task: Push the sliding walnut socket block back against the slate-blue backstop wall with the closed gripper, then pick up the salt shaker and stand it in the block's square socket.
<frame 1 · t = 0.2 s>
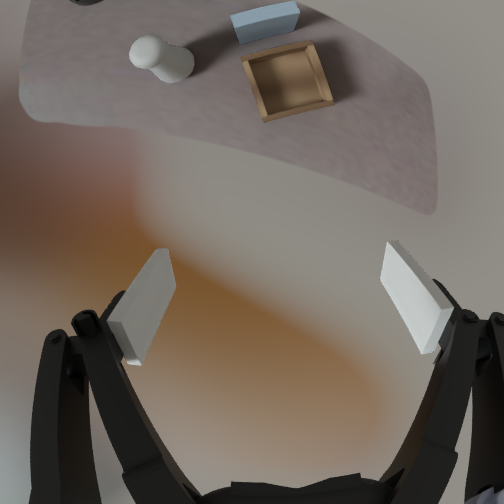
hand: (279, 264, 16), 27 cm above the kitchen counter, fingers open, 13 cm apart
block: (286, 81, 31), point 2 cm above the kitchen counter, slide at 3.0 cm
wall: (264, 31, 29), on the kitchen counter
salt shaker: (179, 67, 32), on the kitchen counter
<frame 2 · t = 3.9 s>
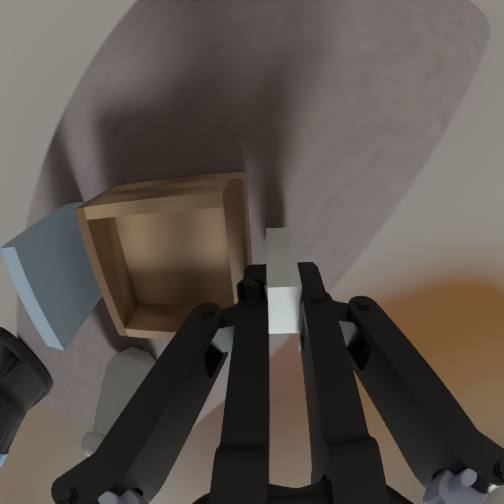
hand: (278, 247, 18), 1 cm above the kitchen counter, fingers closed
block: (174, 259, 17), point 2 cm above the kitchen counter, slide at 2.9 cm, touching gripper
wall: (86, 247, 20), on the kitchen counter
salt shaker: (140, 358, 26), on the kitchen counter
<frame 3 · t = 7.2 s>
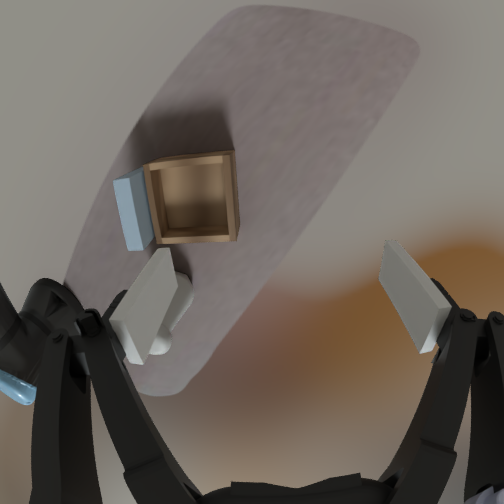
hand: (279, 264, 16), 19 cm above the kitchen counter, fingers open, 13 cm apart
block: (194, 196, 30), point 3 cm above the kitchen counter, slide at 0.0 cm
wall: (154, 194, 33), on the kitchen counter
salt shaker: (179, 282, 39), on the kitchen counter
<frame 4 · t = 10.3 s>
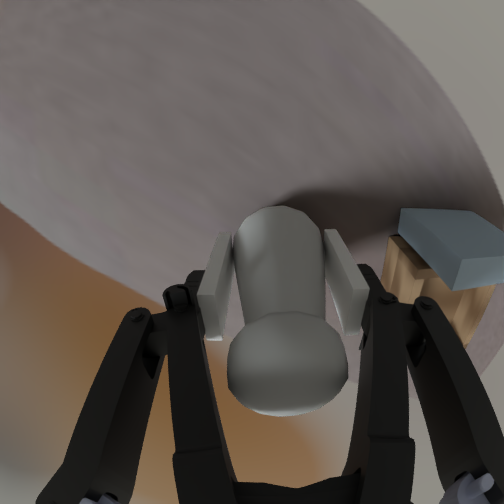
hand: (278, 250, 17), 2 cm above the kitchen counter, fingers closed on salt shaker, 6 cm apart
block: (435, 299, 19), point 2 cm above the kitchen counter, slide at 0.0 cm
wall: (438, 220, 18), on the kitchen counter
salt shaker: (276, 234, 20), on the kitchen counter, touching gripper
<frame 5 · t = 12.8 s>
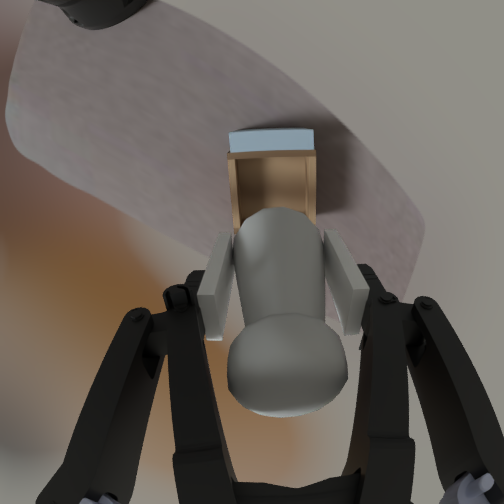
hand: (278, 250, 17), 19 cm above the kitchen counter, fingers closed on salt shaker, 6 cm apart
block: (272, 187, 32), point 2 cm above the kitchen counter, slide at 0.0 cm
wall: (269, 136, 31), on the kitchen counter
salt shaker: (276, 235, 20), point 16 cm above the kitchen counter, touching gripper
when the fingers open (6 cm above the kitchen counter, at t = 15.4 s): salt shaker drops 2 cm, resting on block.
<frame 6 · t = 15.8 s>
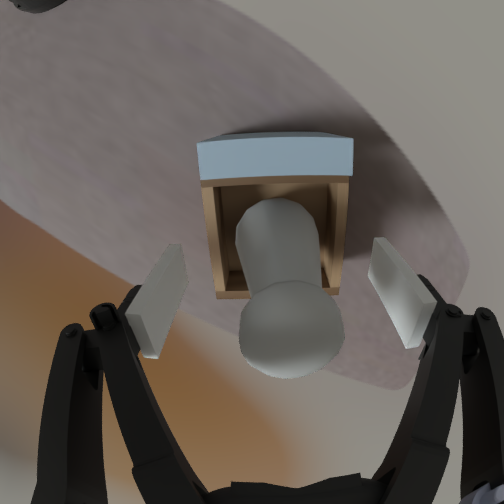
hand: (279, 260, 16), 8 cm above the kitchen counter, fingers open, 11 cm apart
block: (276, 227, 21), point 3 cm above the kitchen counter, slide at 0.0 cm, touching salt shaker
wall: (272, 144, 20), on the kitchen counter
salt shaker: (274, 224, 21), point 2 cm above the kitchen counter, touching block
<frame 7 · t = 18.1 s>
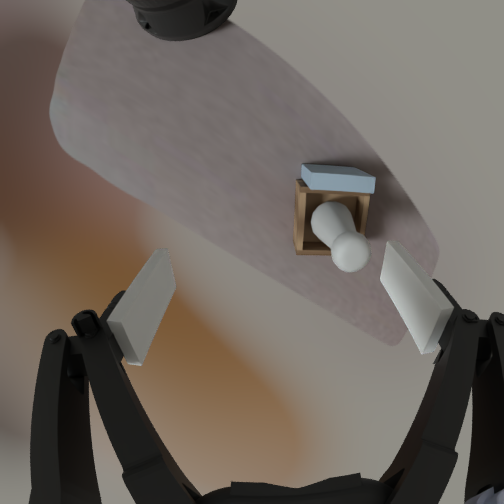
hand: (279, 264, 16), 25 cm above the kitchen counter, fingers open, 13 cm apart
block: (329, 217, 37), point 3 cm above the kitchen counter, slide at 0.0 cm, touching salt shaker
wall: (328, 172, 37), on the kitchen counter
salt shaker: (327, 216, 38), point 2 cm above the kitchen counter, touching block
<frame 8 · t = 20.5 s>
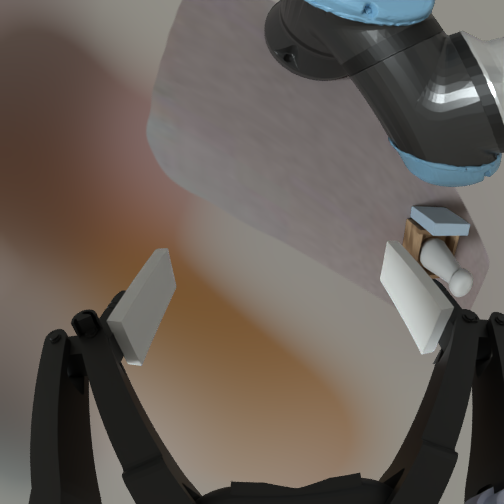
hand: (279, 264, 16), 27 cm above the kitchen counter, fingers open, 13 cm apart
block: (429, 248, 41), point 2 cm above the kitchen counter, slide at 0.0 cm, touching salt shaker
wall: (428, 212, 40), on the kitchen counter
salt shaker: (427, 247, 41), point 2 cm above the kitchen counter, touching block
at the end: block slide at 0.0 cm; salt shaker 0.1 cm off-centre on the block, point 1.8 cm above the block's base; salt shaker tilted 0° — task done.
